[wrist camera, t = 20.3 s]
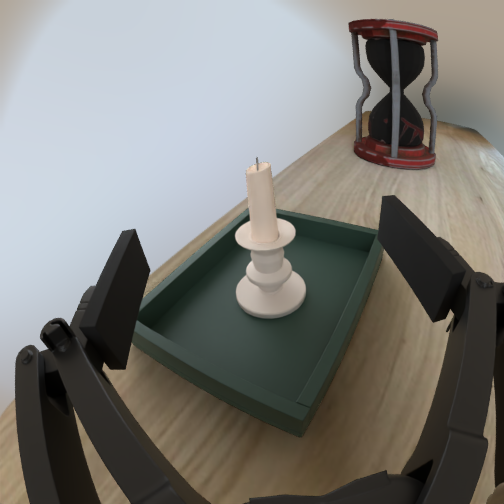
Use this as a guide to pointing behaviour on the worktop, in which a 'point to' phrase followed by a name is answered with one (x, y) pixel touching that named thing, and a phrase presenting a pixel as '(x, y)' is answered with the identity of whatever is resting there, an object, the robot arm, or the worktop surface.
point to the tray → (263, 320)
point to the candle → (267, 253)
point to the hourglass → (395, 93)
